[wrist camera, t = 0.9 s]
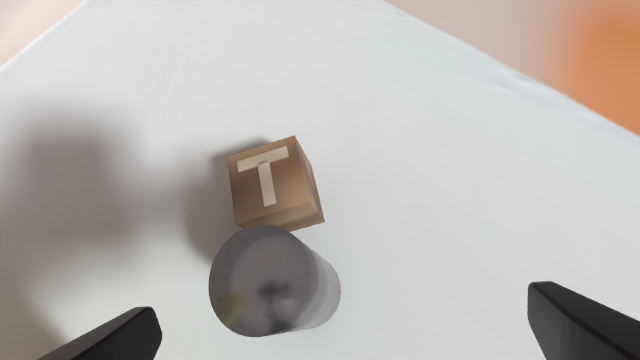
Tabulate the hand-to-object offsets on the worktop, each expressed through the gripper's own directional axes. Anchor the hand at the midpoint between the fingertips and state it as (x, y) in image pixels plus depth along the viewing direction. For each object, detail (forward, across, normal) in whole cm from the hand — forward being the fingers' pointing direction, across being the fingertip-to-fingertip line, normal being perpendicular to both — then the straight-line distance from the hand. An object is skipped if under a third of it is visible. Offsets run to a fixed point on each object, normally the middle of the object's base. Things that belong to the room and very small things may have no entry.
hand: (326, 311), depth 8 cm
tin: (+13, +4, +8) cm, 16 cm away
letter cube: (+18, +5, +3) cm, 19 cm away
